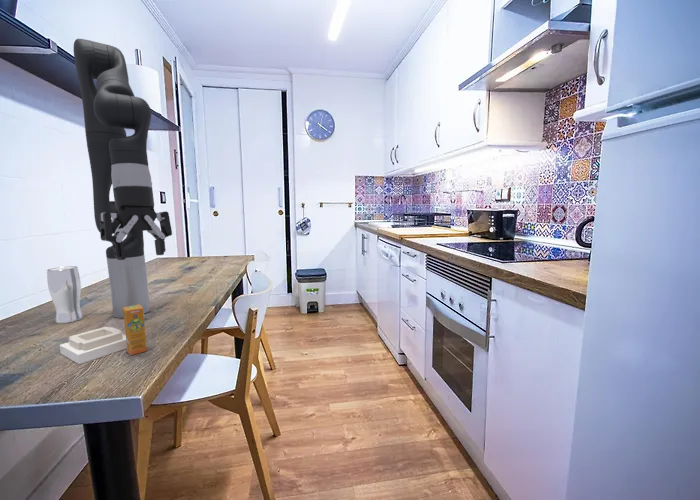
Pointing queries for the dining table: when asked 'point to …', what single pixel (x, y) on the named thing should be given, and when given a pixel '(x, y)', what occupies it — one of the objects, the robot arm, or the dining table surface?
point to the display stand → (93, 344)
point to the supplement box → (134, 329)
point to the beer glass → (65, 293)
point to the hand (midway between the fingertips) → (141, 257)
